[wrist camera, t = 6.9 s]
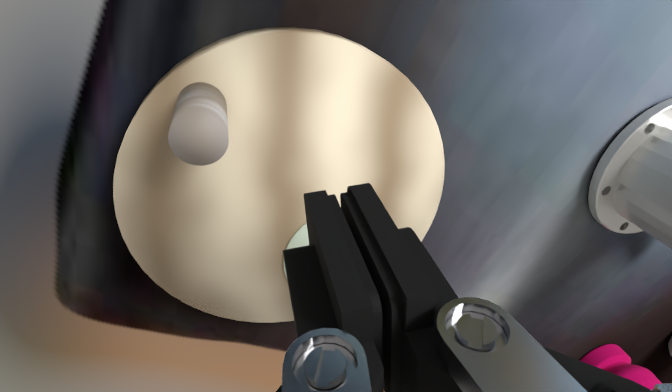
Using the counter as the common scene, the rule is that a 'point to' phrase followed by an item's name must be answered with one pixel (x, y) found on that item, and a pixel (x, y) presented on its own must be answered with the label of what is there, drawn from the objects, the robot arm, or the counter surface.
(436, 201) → the serving platter
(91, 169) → the counter surface
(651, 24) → the counter surface
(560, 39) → the counter surface
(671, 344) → the soda can
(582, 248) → the counter surface
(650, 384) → the pepper mill
